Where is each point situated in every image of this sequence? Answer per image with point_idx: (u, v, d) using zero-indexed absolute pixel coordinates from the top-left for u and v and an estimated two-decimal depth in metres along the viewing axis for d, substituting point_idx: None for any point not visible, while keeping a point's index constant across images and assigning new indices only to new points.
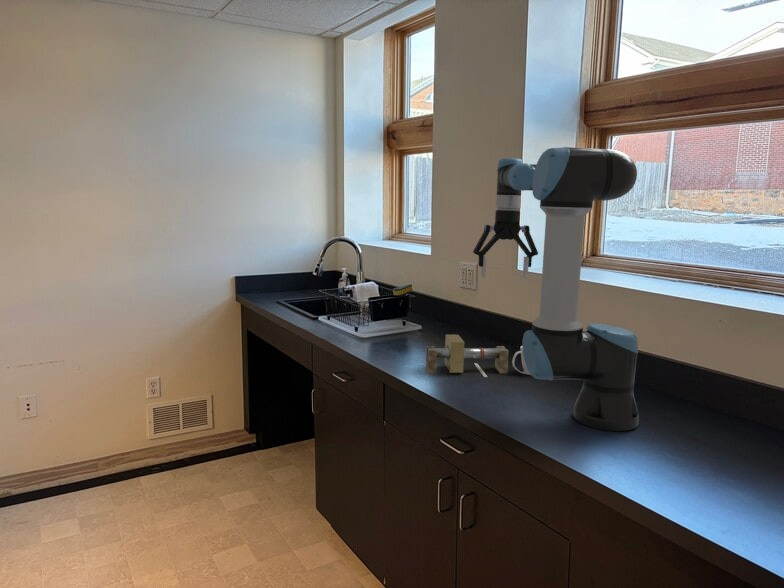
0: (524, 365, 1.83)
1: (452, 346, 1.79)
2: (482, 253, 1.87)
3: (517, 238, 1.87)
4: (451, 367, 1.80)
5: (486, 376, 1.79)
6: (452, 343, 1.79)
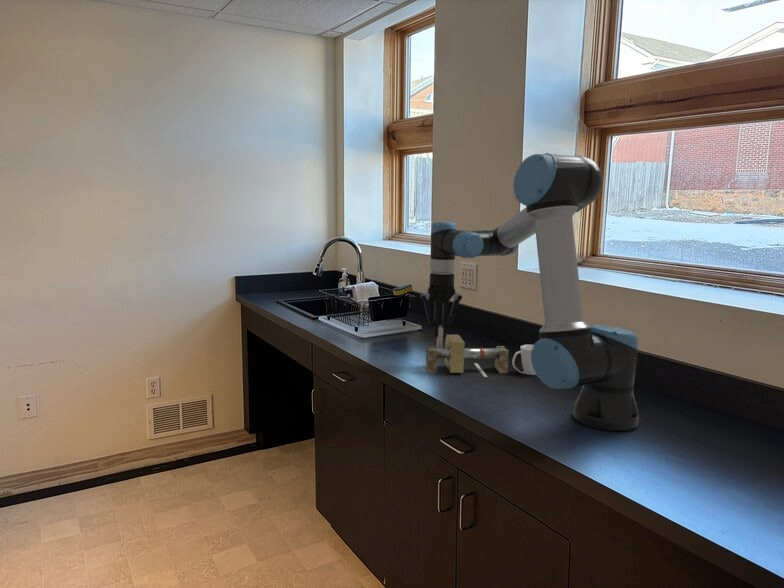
0: (524, 365, 1.83)
1: (452, 346, 1.79)
2: (436, 324, 1.86)
3: (445, 303, 1.84)
4: (451, 367, 1.80)
5: (486, 376, 1.79)
6: (452, 343, 1.79)
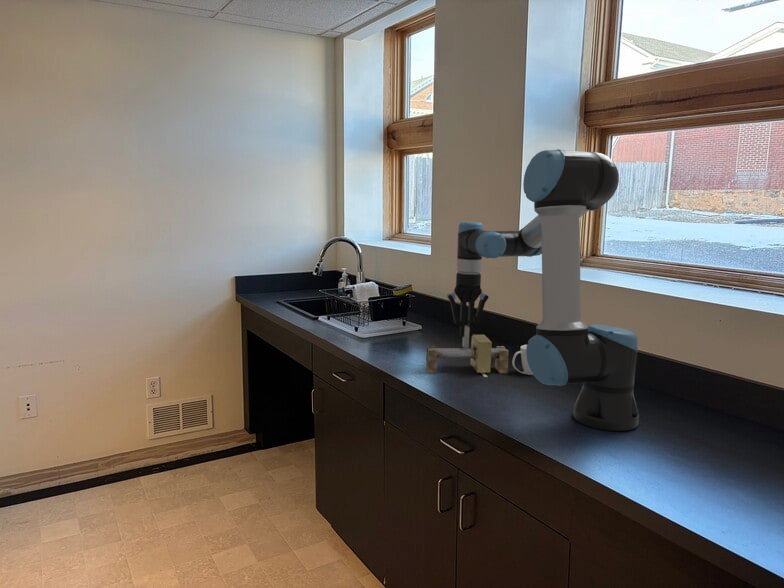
0: (524, 365, 1.83)
1: (479, 346, 1.80)
2: (462, 324, 1.86)
3: (472, 303, 1.85)
4: (478, 367, 1.81)
5: (486, 376, 1.79)
6: (479, 343, 1.80)
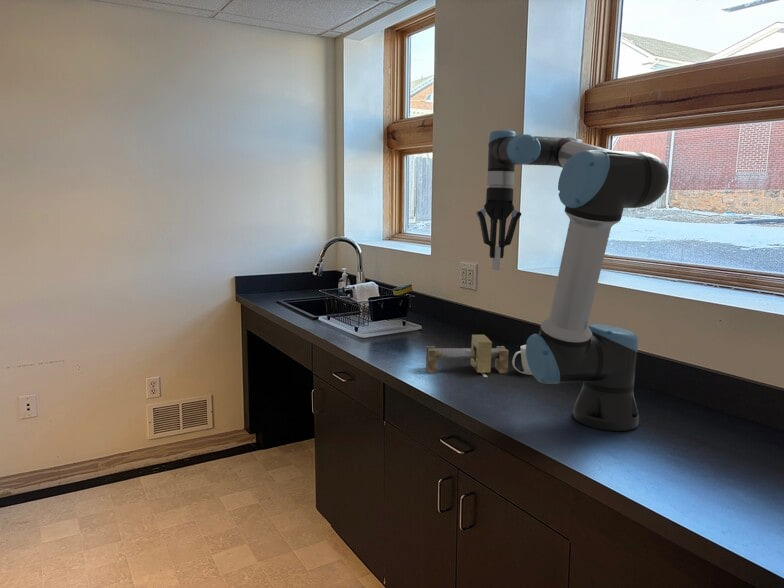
0: (524, 365, 1.83)
1: (480, 346, 1.80)
2: (493, 243, 1.72)
3: (503, 220, 1.71)
4: (478, 367, 1.81)
5: (486, 376, 1.79)
6: (480, 343, 1.80)
